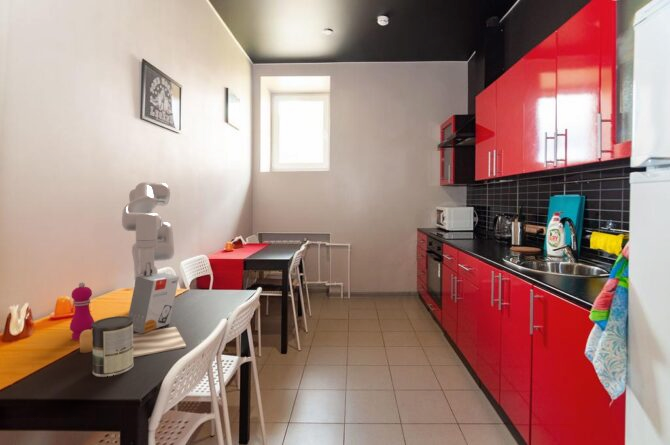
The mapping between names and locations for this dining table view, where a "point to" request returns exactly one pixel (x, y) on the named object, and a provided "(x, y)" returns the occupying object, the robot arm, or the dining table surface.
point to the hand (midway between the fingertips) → (147, 290)
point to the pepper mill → (81, 311)
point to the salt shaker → (86, 341)
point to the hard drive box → (152, 301)
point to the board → (157, 341)
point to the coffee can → (112, 345)
